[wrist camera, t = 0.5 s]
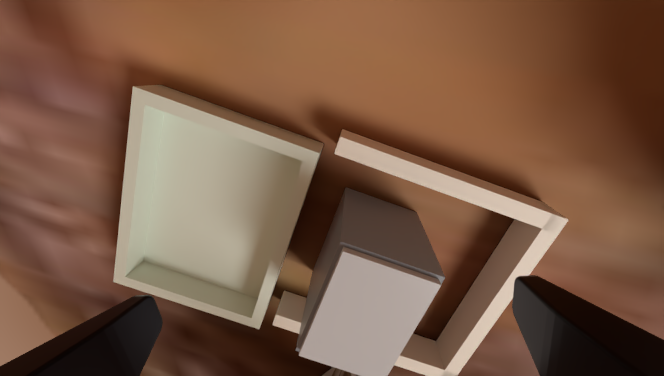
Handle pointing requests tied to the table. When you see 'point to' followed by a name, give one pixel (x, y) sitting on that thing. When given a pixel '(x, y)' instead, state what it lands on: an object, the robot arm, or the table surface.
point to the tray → (208, 203)
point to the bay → (494, 279)
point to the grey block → (368, 286)
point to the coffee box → (338, 372)
